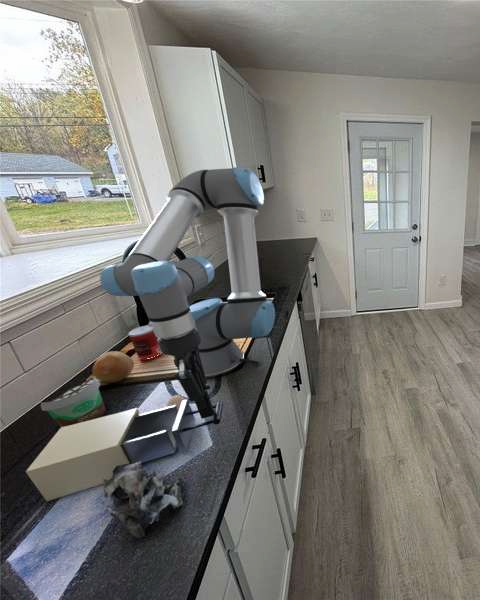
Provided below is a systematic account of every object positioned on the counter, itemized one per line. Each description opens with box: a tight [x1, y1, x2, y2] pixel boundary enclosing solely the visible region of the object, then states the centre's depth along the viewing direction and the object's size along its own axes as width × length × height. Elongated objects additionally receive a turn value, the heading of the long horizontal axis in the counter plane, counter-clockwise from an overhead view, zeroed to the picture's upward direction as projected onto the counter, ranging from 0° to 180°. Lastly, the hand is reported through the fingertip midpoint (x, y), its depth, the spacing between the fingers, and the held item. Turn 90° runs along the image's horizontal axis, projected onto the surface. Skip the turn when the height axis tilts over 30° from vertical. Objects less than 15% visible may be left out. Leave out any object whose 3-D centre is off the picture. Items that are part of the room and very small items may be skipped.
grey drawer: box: [120, 399, 224, 465], centre depth 76 cm, size 21×11×7 cm, turn 113°
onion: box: [91, 350, 135, 384], centre depth 102 cm, size 10×10×10 cm
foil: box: [96, 460, 184, 539], centre depth 61 cm, size 12×11×15 cm
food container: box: [40, 375, 106, 428], centre depth 85 cm, size 12×6×10 cm, turn 168°
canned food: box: [128, 324, 164, 362], centre depth 115 cm, size 8×8×11 cm
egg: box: [166, 394, 186, 411], centre depth 86 cm, size 4×4×6 cm
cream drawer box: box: [25, 407, 141, 502], centre depth 70 cm, size 15×13×9 cm
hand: (208, 415), depth 78 cm, fingers closed
